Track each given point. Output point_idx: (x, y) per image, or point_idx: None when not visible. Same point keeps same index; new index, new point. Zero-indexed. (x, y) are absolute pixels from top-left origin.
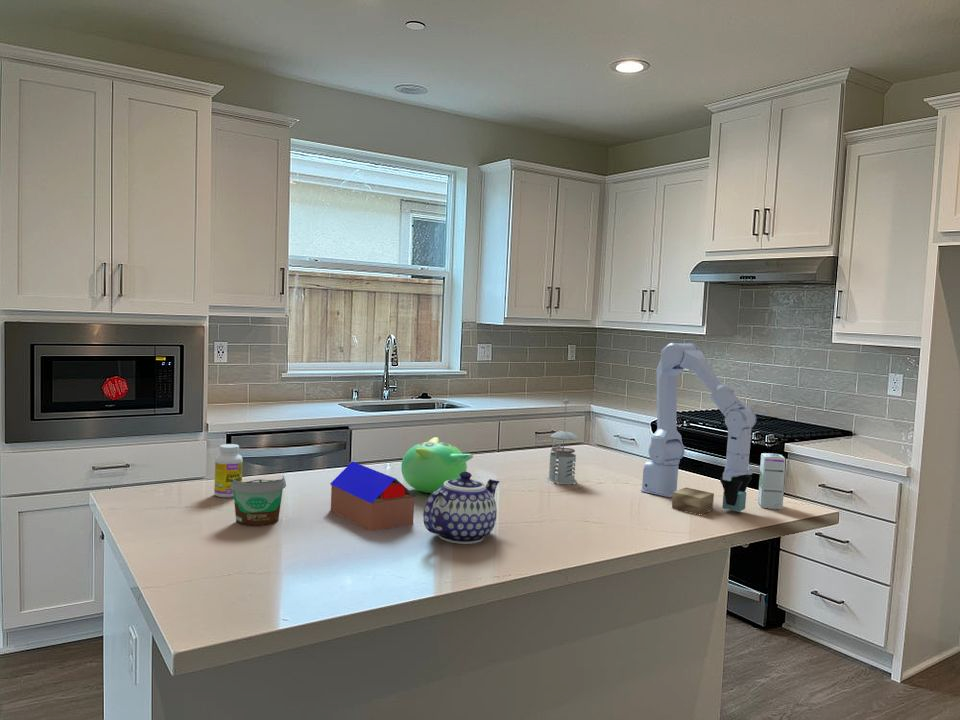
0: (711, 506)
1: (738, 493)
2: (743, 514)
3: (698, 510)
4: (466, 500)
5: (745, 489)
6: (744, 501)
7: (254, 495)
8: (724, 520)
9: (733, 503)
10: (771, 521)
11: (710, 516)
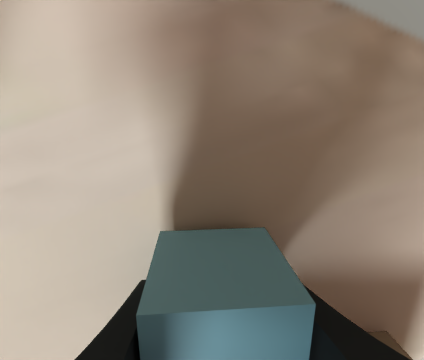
0: None
1: (262, 338)
2: (219, 208)
3: None
4: None
5: (94, 356)
6: (178, 259)
7: None
8: (411, 228)
9: None
10: (245, 25)
11: (382, 296)
